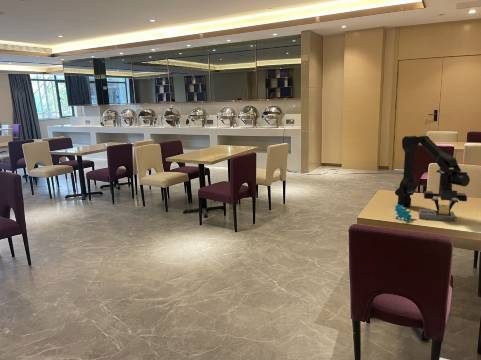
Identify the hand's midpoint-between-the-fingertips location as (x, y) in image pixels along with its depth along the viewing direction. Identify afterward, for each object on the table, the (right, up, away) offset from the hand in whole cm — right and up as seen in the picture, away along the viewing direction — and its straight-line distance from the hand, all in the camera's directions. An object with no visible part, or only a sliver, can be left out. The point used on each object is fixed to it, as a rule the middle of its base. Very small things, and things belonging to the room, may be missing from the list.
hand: (443, 212), depth 188 cm
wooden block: (0, -1, 0) cm, 1 cm away
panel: (-3, -3, +2) cm, 4 cm away
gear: (-20, -4, 0) cm, 21 cm away
